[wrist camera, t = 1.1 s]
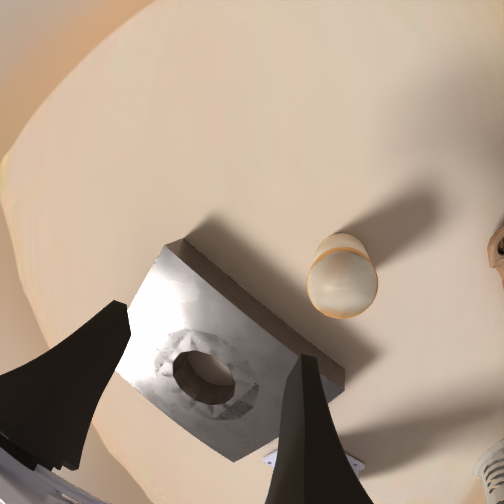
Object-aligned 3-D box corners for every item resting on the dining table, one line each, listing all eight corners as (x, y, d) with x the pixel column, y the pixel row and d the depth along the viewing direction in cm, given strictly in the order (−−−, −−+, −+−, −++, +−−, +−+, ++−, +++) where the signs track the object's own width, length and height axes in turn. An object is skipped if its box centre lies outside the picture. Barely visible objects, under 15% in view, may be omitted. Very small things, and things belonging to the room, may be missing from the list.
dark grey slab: (344, 369, 24) (344, 390, 21) (241, 444, 29) (233, 462, 26) (183, 238, 25) (164, 245, 22) (119, 346, 30) (103, 358, 28)
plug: (378, 256, 21) (392, 281, 15) (343, 295, 22) (344, 331, 17) (337, 221, 21) (338, 234, 16) (303, 262, 23) (292, 288, 17)
